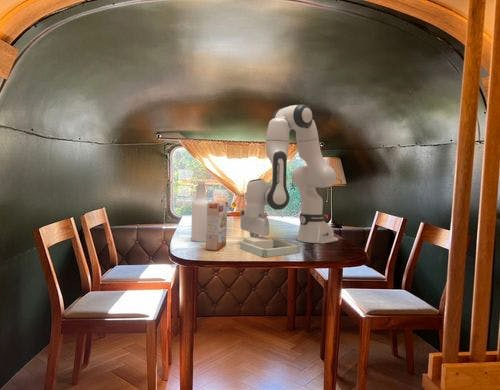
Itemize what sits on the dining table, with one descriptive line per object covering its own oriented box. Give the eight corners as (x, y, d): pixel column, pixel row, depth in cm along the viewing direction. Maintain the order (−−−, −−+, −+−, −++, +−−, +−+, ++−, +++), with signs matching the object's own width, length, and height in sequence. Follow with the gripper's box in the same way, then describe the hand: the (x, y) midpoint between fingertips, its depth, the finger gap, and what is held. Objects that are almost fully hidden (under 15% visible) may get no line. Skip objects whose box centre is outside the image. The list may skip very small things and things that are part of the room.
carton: (262, 246, 162) (262, 236, 162) (273, 251, 153) (273, 240, 153) (243, 248, 158) (243, 237, 158) (253, 252, 149) (253, 241, 149)
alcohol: (192, 238, 175) (193, 180, 174) (209, 239, 176) (210, 180, 174) (190, 242, 167) (191, 180, 165) (208, 242, 167) (209, 181, 165)
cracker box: (218, 251, 149) (219, 203, 147) (205, 250, 150) (206, 202, 149) (227, 244, 162) (228, 201, 161) (215, 244, 164) (216, 200, 162)
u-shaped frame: (273, 244, 166) (273, 238, 165) (299, 252, 150) (299, 246, 149) (240, 248, 155) (240, 241, 155) (264, 257, 139) (264, 250, 139)
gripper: (273, 215, 155) (272, 245, 156) (249, 210, 172) (248, 237, 173) (261, 215, 151) (260, 246, 152) (238, 211, 169) (237, 238, 169)
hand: (254, 242), depth 163 cm, fingers closed
